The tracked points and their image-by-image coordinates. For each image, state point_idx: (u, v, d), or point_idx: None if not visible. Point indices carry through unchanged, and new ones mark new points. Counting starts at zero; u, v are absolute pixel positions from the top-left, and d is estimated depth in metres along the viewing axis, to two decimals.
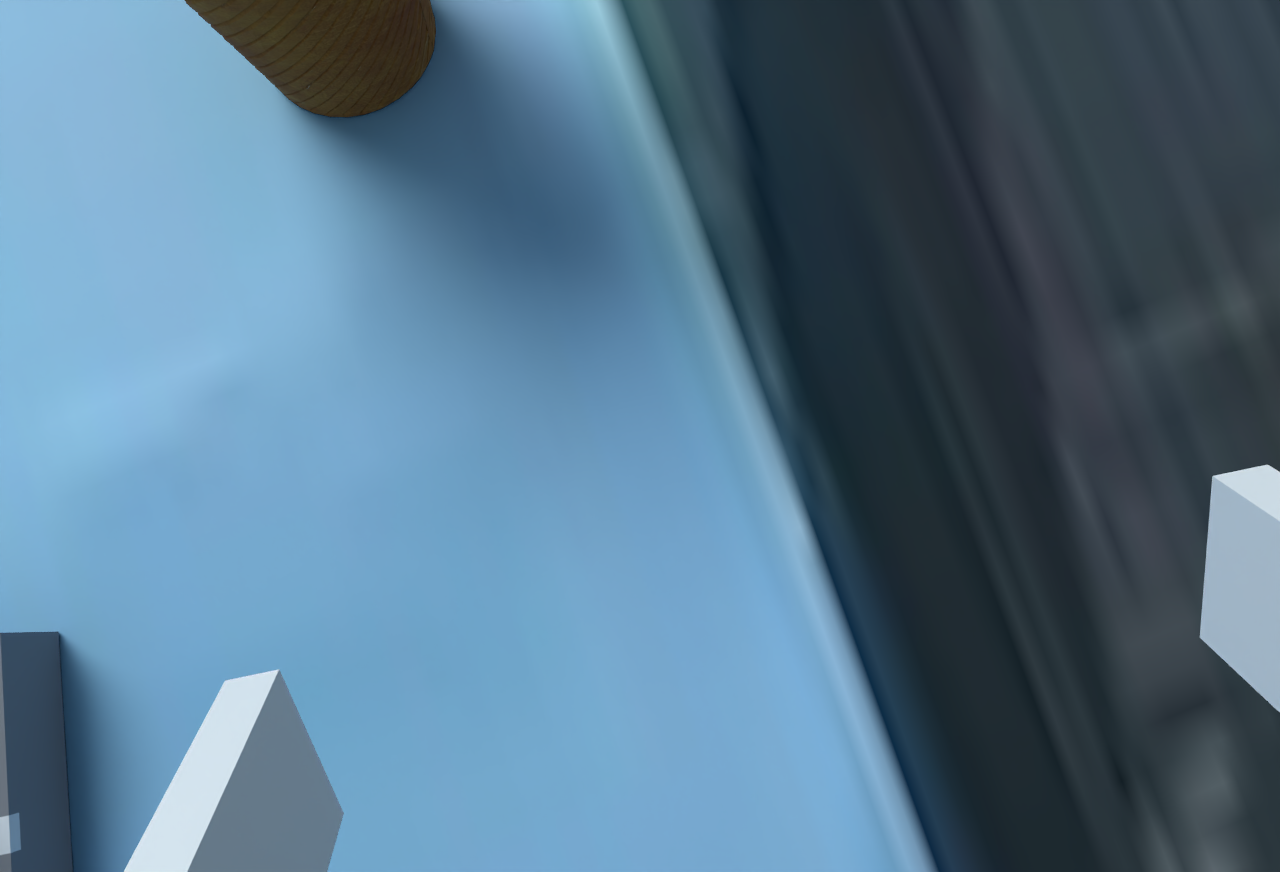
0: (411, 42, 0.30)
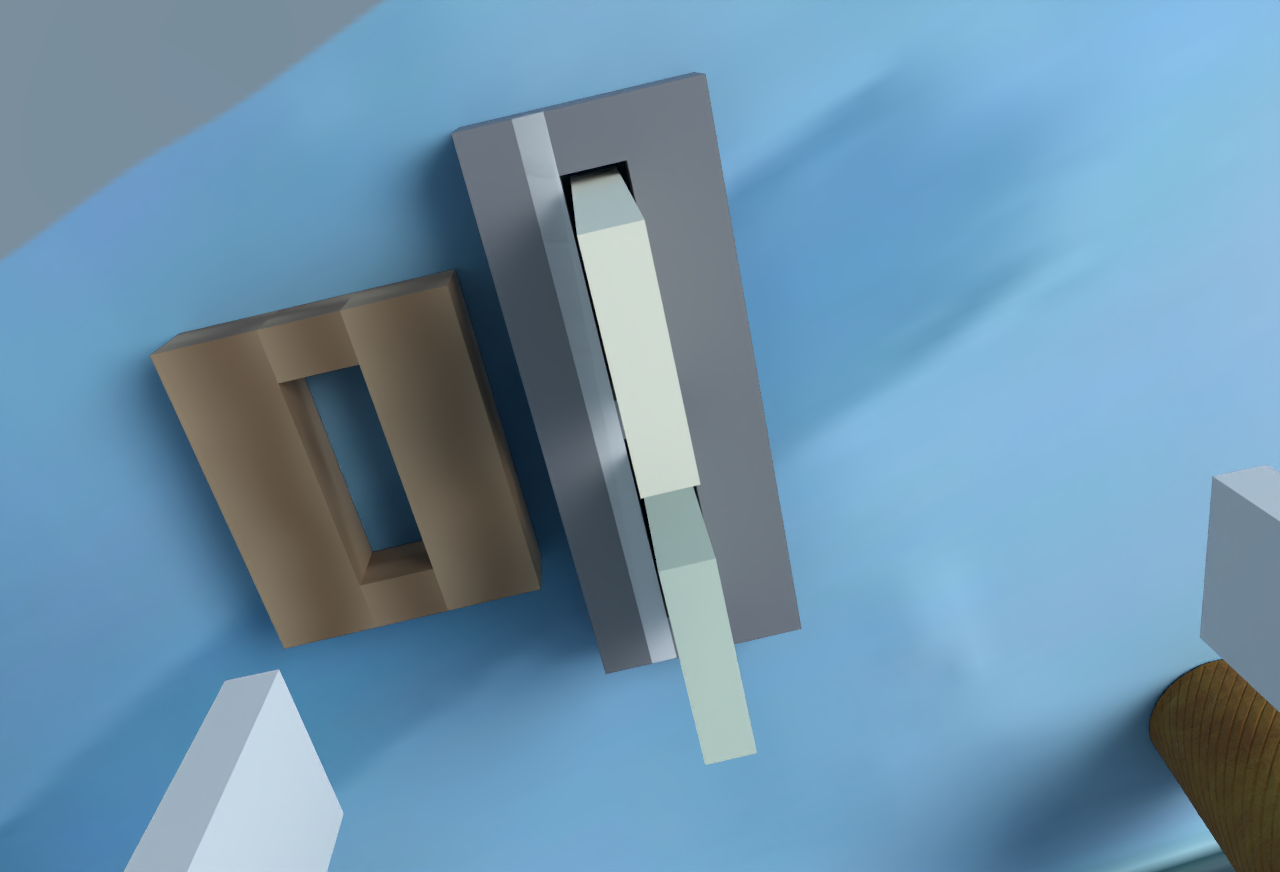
0: None
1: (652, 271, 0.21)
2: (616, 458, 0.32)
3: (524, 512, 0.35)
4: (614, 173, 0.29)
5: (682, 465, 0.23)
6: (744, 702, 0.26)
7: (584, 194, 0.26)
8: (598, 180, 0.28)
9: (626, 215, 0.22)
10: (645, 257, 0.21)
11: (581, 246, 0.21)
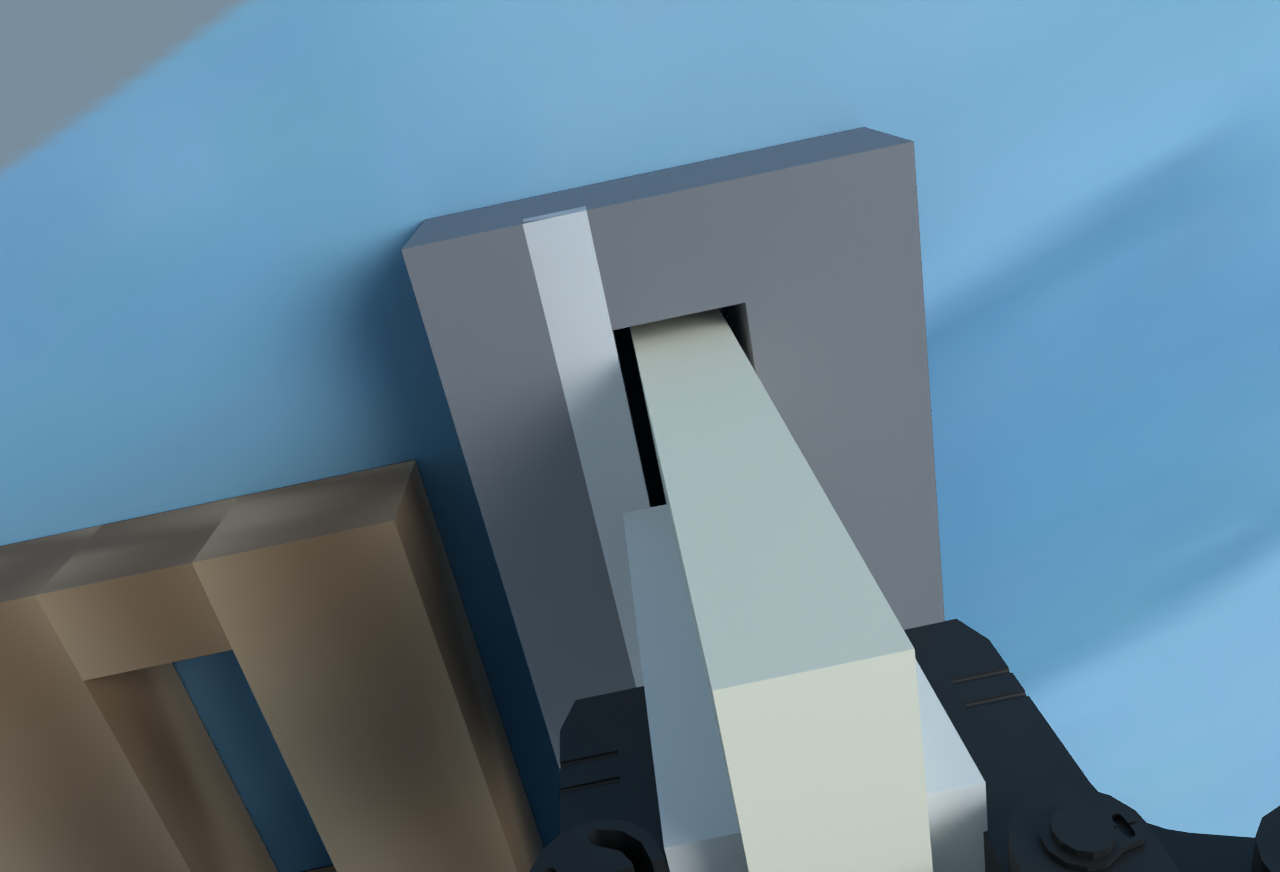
0: None
1: (915, 766, 0.08)
2: None
3: (528, 836, 0.21)
4: (715, 319, 0.15)
5: None
6: None
7: (671, 397, 0.13)
8: (688, 339, 0.15)
9: (832, 581, 0.08)
10: (903, 738, 0.07)
11: (722, 717, 0.07)
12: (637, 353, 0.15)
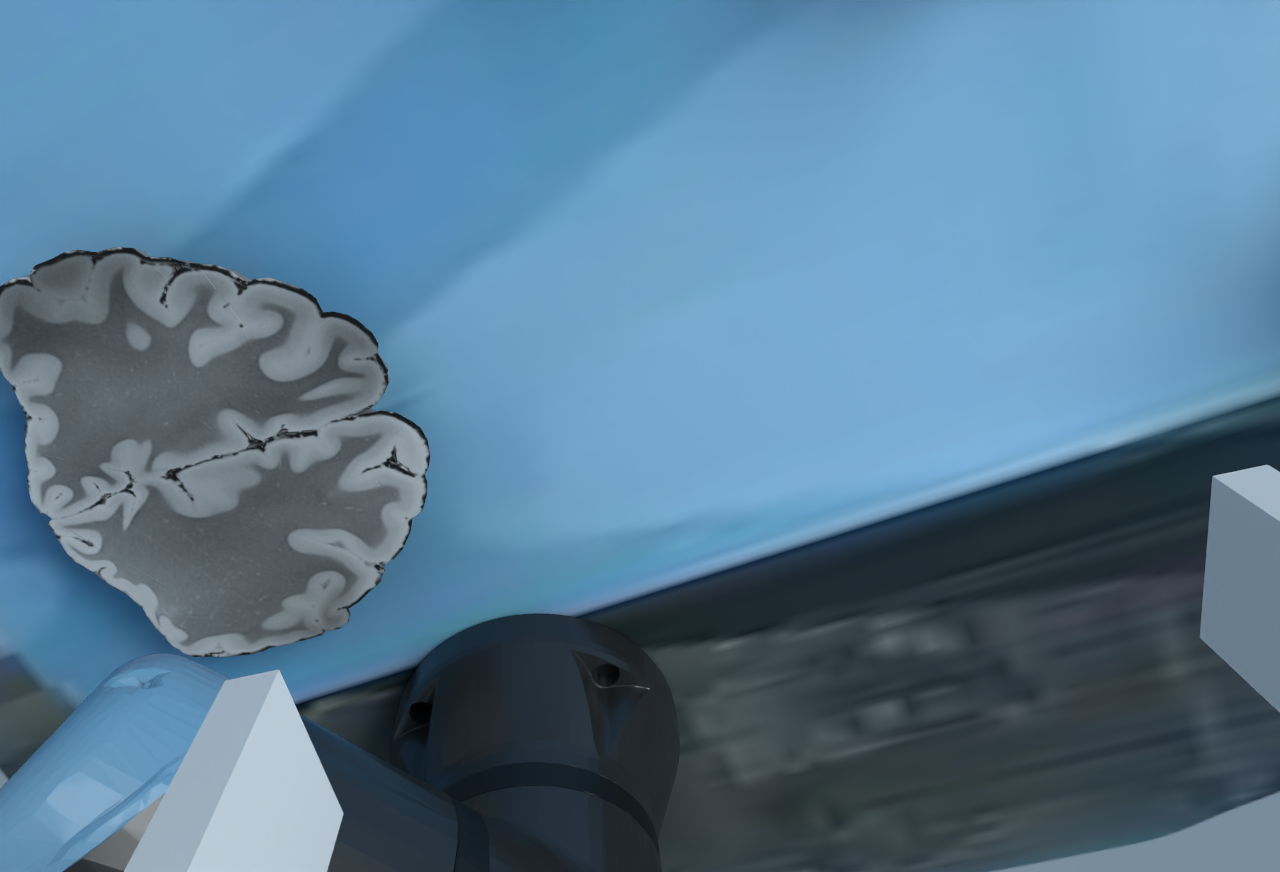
0: None
1: None
2: None
3: None
4: None
5: None
6: None
7: None
8: None
9: None
10: None
11: None
12: None
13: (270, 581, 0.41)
